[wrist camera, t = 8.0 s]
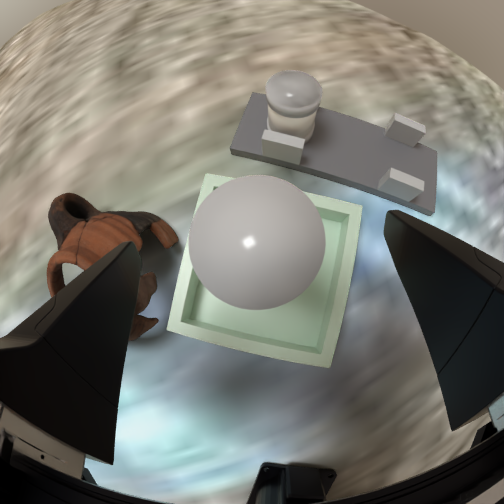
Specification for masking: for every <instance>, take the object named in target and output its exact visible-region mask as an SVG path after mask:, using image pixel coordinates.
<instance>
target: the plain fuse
mask: <svg viewBox="0 0 504 504" xmlns="http://www.w3.org/2000/svg"><path fill="white" fill-rule="evenodd" d="M321 97H322V87H321V85H320V83H319V82H318V81H317V80H316V79H315V78H314V77H313V76H311V75H309V74H307V73H305V72H302V71H297V70H286V71H281V72H278V73H276V74H274V75H273V76H271V77H270V78H269V79H268V81H267V83H266V100H267V103H268V118H267V130H270V131H274V132H279V133H283V134H287V135H291V136H295V137H299V138H302V139H305V143H304V145H305V144H306V143H308V142H309V141H310V139H311V138H312V135H313V131H314V127H315V122H314V121H315V117H316V112H317V109H318V108H319V106H320V102H321Z"/></svg>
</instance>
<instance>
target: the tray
mask: <svg viewBox="0 0 504 504" xmlns="http://www.w3.org/2000/svg"><path fill="white" fill-rule="evenodd" d="M233 179H235V178H231V177H225V176H219V175H213V174H206V175H205V178H204V181H203V185H202V188H201V191H200V195H199V198H198V202H197V205H196V209H195V212H194V215H195V213H196V211H197V209H198V208H199V206H200V205H201V203H202V202H203V201H204V199H205V198H206V197H207V196H208V195H209V194H210V193H211V192H212V191H213V190H215V189H216V188H218V187H219V186H220V185H222V184H224V183H226V182H228V181H230V180H233ZM304 193H305V194H306V195H307V196H308V197H309V199H310V200H311V201H312V202H313V204H314V205H315V207H316V208H317V210H318V212H319V214H320V216H321V219H322V222H323V225H324V230H325V239H326V246H325V254H324V258H323V262H322V265H321V267H320V270H319V272H318V274H317V276H316V277H315V279H314V280H313V282H312V283H311V284H310V286H309V287H308V288H307V289H306V290H305V291H304V292H303V293H302V294H300V295H299V296H298V297H296V298H295V299H293V300H292V301H290V302H288V303H286V304H284V305H281V306H279V307H275V308H271V309H265V310H247V309H241V308H238V307H234V306H231V305H229V304H227V303H225V302H223V301H221V300H220V299H218V298H217V297H215V296H214V295H213V294H212V293H210V292H209V291H208V290H207V289H206V287H205V286H204V285H203V284H202V283H201V281H200V280H199V278H198V277H197V275H196V273H195V271H194V269H193V266H192V263H191V260H190V255H189V246H188V240H189V235H188V238H187V242H186V246H185V250H184V254H183V258H182V262H181V266H180V271H179V275H178V279H177V284H176V288H175V292H174V297H173V302H172V306H171V311H170V316H169V321H168V326H167V330H168V331H171V332H175V333H178V334H181V335H184V336H188V337H191V338H195V339H198V340H202V341H205V342H209V343H212V344H216V345H220V346H224V347H228V348H231V349H235V350H240V351H244V352H248V353H252V354H257V355H261V356H266V357H270V358H275V359H280V360H285V361H290V362H295V363H301V364H306V365H312V366H318V367H324V368H330V366H331V363H332V359H333V356H334V352H335V348H336V344H337V340H338V336H339V332H340V328H341V324H342V320H343V316H344V311H345V307H346V302H347V297H348V293H349V288H350V283H351V277H352V272H353V266H354V261H355V255H356V249H357V242H358V236H359V229H360V221H361V214H362V206H361V205H357V204H353V203H349V202H345V201H341V200H337V199H333V198H329V197H325V196H321V195H316V194H312V193H307V192H304ZM193 217H194V216H193Z"/></svg>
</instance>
